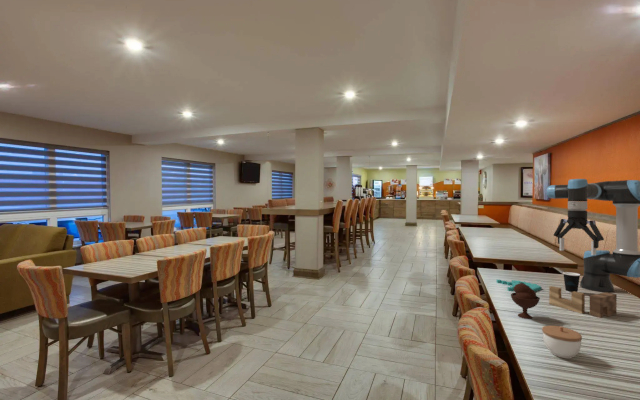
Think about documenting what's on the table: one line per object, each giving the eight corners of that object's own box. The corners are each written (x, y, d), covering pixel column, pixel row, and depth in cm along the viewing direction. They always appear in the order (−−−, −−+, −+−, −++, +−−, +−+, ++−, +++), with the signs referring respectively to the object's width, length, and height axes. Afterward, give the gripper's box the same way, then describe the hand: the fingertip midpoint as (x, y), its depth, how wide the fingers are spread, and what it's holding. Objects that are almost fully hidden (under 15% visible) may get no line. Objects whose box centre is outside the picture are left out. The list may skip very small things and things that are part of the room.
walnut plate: (605, 310, 148) (605, 292, 148) (616, 313, 144) (616, 294, 144) (589, 314, 142) (589, 295, 142) (600, 318, 139) (600, 298, 139)
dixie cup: (574, 291, 180) (574, 272, 180) (583, 295, 172) (583, 275, 172) (559, 290, 182) (559, 271, 182) (567, 294, 174) (567, 274, 174)
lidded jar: (534, 347, 111) (534, 321, 111) (562, 346, 112) (562, 320, 112) (560, 362, 100) (560, 334, 100) (590, 361, 101) (590, 333, 101)
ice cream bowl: (531, 323, 132) (531, 288, 132) (505, 314, 142) (505, 282, 142) (544, 318, 137) (545, 285, 137) (519, 310, 147) (519, 279, 147)
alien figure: (508, 291, 180) (547, 294, 176) (508, 288, 180) (547, 290, 176) (496, 282, 199) (530, 284, 195) (496, 279, 199) (530, 281, 195)
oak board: (552, 303, 158) (552, 286, 158) (584, 312, 145) (584, 293, 145) (549, 304, 157) (549, 286, 157) (581, 313, 144) (581, 294, 144)
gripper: (545, 209, 163) (545, 249, 163) (604, 210, 140) (604, 257, 140) (554, 209, 166) (554, 248, 166) (613, 210, 143) (613, 256, 143)
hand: (577, 252), depth 153 cm, fingers open, 13 cm apart
